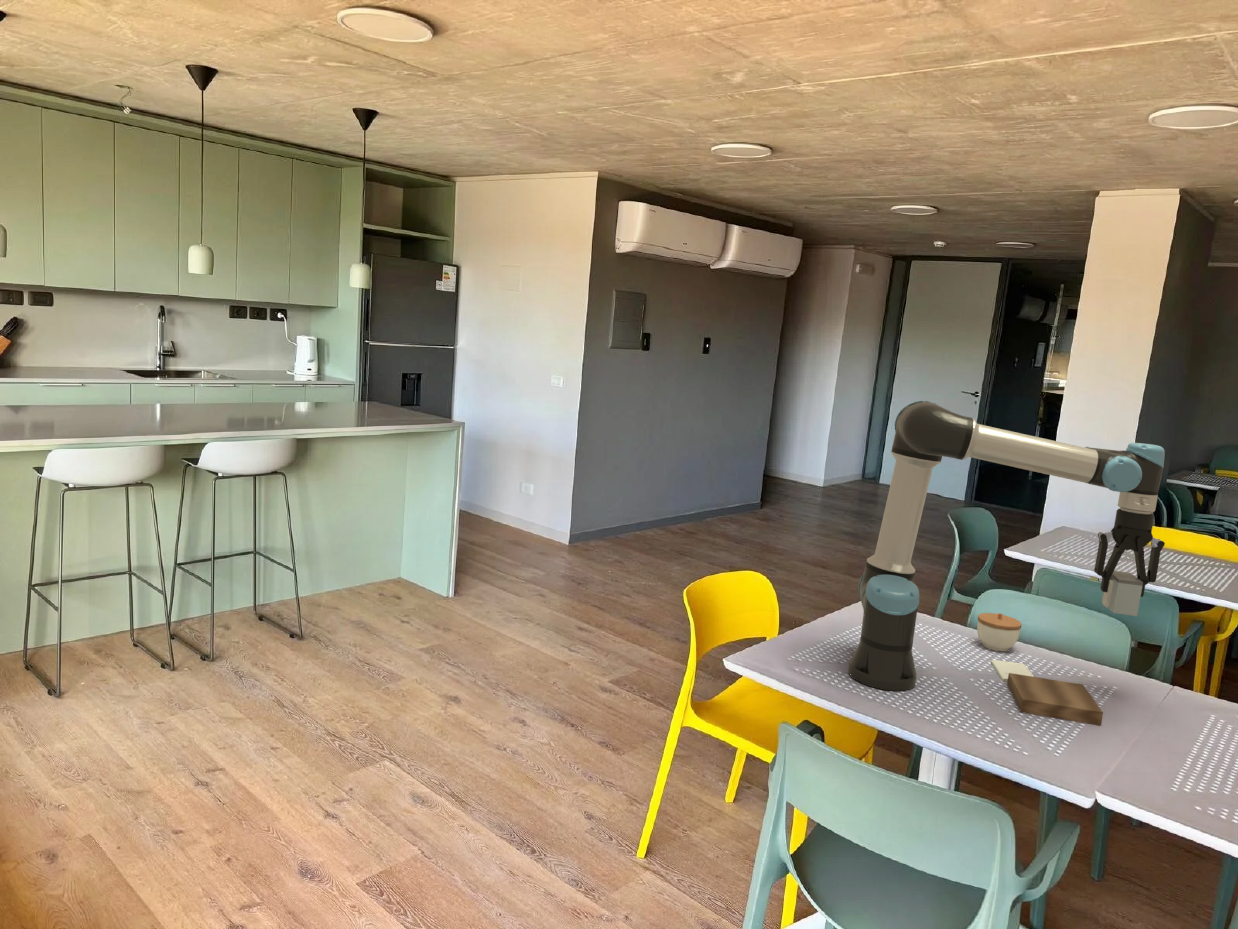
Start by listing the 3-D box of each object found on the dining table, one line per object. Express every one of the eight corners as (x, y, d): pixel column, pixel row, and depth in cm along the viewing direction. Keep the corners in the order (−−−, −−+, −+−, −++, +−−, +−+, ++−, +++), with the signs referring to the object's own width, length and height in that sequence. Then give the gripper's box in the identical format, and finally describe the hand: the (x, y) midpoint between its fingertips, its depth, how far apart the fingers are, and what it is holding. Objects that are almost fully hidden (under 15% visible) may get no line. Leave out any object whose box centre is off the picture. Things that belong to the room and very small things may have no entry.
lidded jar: (965, 641, 231) (970, 608, 230) (993, 638, 235) (998, 606, 234) (997, 656, 221) (1002, 621, 220) (1026, 652, 226) (1031, 618, 225)
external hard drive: (1024, 670, 214) (1038, 689, 202) (990, 665, 216) (1002, 684, 204) (1025, 664, 214) (1039, 682, 202) (991, 659, 216) (1003, 677, 204)
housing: (1113, 612, 196) (1118, 579, 195) (1101, 601, 205) (1107, 569, 204) (1137, 616, 195) (1143, 582, 194) (1124, 605, 204) (1130, 572, 203)
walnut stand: (1020, 712, 187) (1022, 699, 186) (1007, 685, 202) (1008, 672, 202) (1100, 725, 183) (1103, 712, 182) (1080, 696, 198) (1082, 684, 198)
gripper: (1097, 508, 195) (1081, 606, 199) (1186, 518, 191) (1167, 618, 194) (1088, 502, 202) (1072, 597, 206) (1173, 512, 198) (1156, 608, 202)
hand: (1119, 607), depth 200 cm, fingers closed on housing, 5 cm apart
